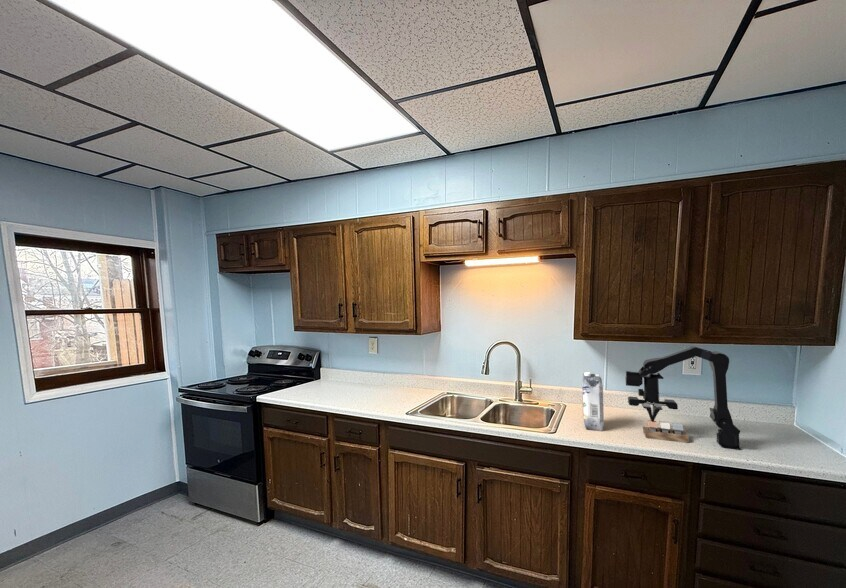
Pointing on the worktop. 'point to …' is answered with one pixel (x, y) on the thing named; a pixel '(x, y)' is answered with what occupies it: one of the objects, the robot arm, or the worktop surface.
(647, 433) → the key panel
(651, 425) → the key terracotta
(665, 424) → the key ivory
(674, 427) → the key slate
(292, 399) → the worktop surface
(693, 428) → the worktop surface
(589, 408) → the juice carton
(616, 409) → the worktop surface
